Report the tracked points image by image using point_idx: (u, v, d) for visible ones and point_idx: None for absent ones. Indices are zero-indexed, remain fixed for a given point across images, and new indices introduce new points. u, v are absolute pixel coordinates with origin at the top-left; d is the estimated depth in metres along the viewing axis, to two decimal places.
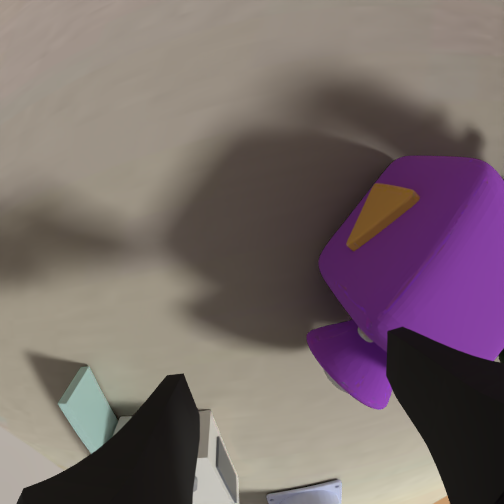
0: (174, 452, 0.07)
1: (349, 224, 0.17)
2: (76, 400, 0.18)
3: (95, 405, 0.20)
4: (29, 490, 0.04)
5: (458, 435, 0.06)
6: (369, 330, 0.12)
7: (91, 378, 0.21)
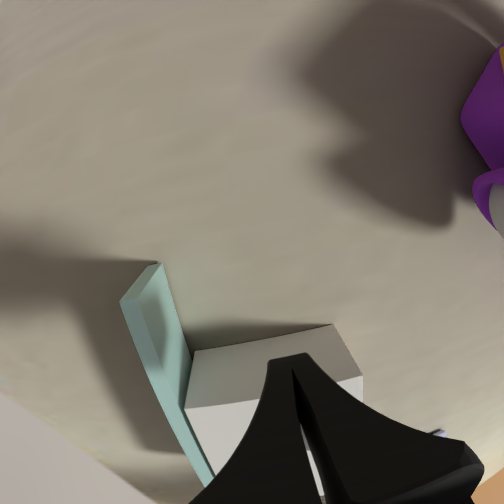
0: None
1: (487, 78, 0.12)
2: (149, 301, 0.13)
3: (169, 322, 0.15)
4: None
5: (327, 483, 0.06)
6: None
7: (164, 281, 0.16)
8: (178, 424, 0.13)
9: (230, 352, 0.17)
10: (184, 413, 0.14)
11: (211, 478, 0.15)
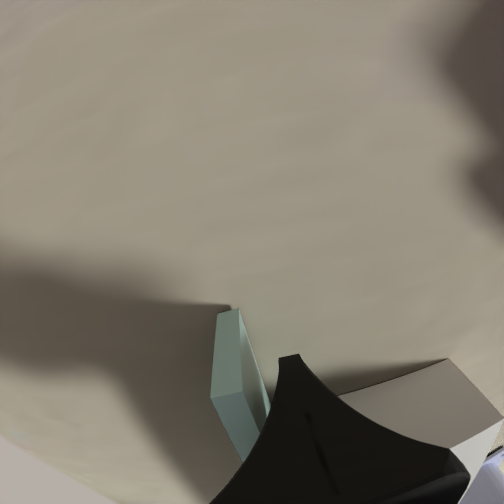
0: None
1: None
2: (247, 381, 0.08)
3: (260, 391, 0.11)
4: None
5: None
6: None
7: (245, 333, 0.11)
8: None
9: None
10: None
11: None
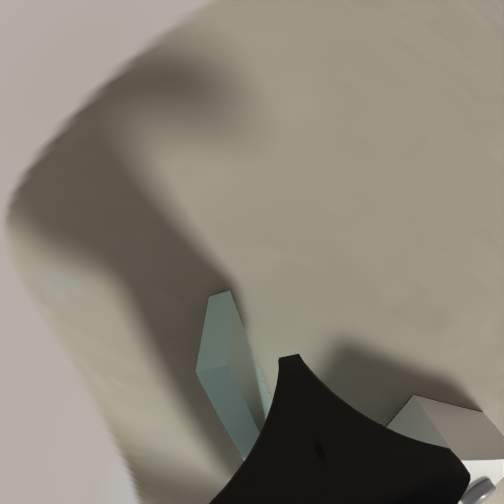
0: None
1: None
2: (236, 358, 0.08)
3: (254, 374, 0.10)
4: None
5: None
6: None
7: (237, 315, 0.11)
8: None
9: (442, 409, 0.13)
10: None
11: None
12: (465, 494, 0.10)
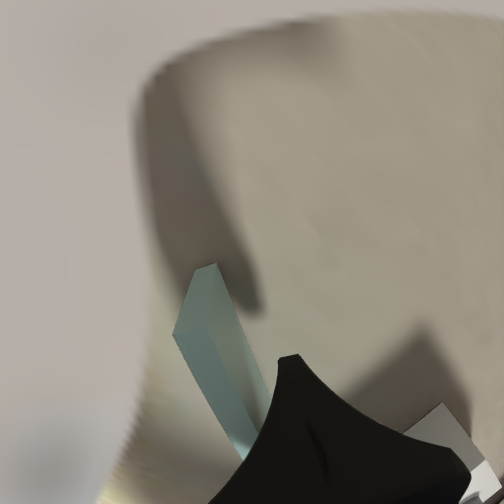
0: None
1: None
2: (219, 324, 0.08)
3: (242, 349, 0.10)
4: None
5: None
6: None
7: (224, 288, 0.11)
8: None
9: None
10: None
11: None
12: None
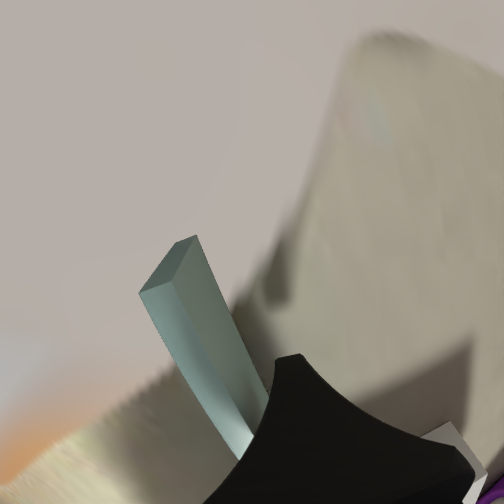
0: None
1: None
2: (191, 287, 0.08)
3: (222, 321, 0.10)
4: None
5: None
6: None
7: (204, 260, 0.11)
8: None
9: None
10: None
11: None
12: None
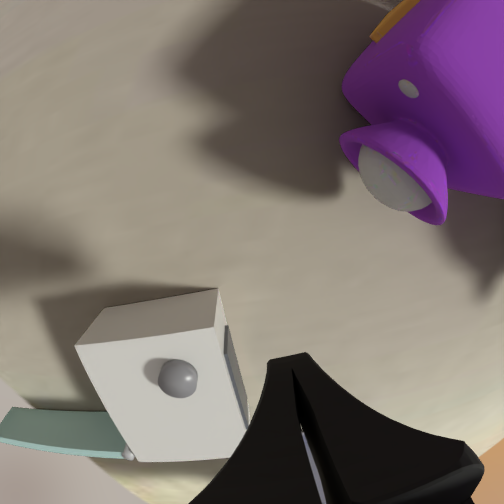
0: None
1: (369, 45, 0.14)
2: (1, 428, 0.19)
3: (21, 419, 0.20)
4: None
5: (327, 483, 0.06)
6: (412, 57, 0.09)
7: (15, 410, 0.22)
8: (41, 447, 0.18)
9: (127, 308, 0.19)
10: (37, 441, 0.18)
11: (86, 450, 0.18)
12: None
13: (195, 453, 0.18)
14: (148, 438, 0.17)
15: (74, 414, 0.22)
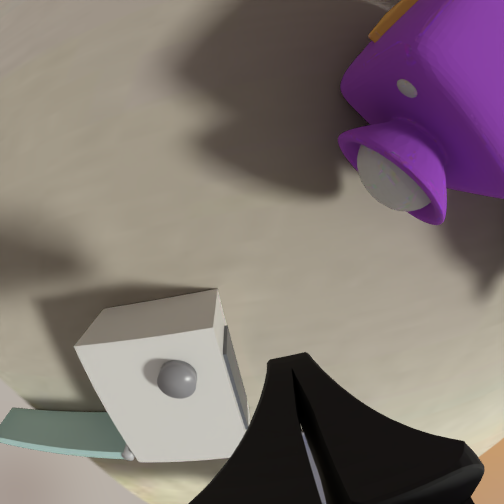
0: None
1: (367, 45, 0.14)
2: (1, 429, 0.19)
3: (21, 419, 0.20)
4: None
5: (327, 483, 0.06)
6: (410, 57, 0.09)
7: (15, 410, 0.22)
8: (41, 447, 0.18)
9: (127, 309, 0.19)
10: (38, 441, 0.18)
11: (86, 451, 0.18)
12: None
13: (195, 453, 0.18)
14: (148, 439, 0.17)
15: (74, 414, 0.22)
